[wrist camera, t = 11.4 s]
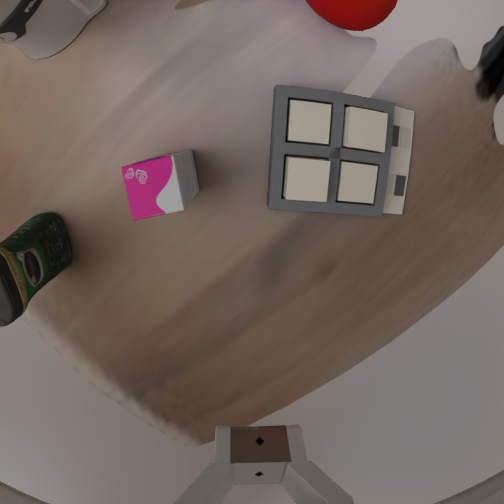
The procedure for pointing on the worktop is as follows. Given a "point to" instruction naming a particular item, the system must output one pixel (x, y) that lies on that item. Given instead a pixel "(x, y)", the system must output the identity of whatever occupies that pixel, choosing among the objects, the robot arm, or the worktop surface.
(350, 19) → the tomato
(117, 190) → the worktop surface
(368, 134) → the button
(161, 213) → the supplement box
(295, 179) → the button
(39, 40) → the robot arm
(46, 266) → the coffee jar
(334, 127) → the button board
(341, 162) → the button
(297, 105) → the button
